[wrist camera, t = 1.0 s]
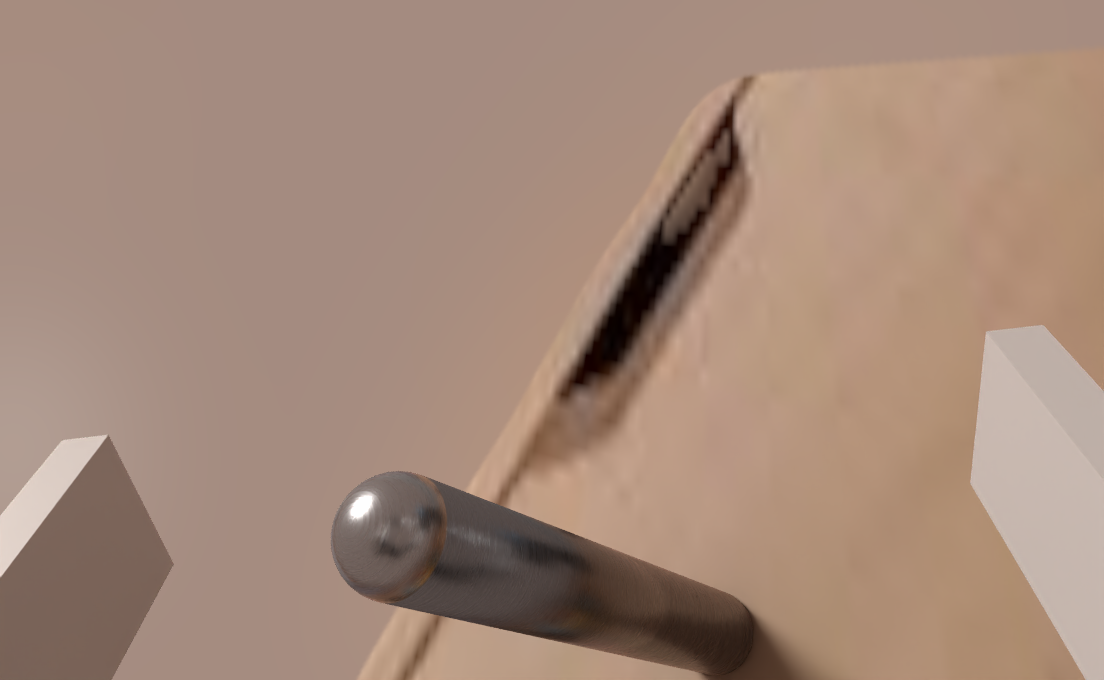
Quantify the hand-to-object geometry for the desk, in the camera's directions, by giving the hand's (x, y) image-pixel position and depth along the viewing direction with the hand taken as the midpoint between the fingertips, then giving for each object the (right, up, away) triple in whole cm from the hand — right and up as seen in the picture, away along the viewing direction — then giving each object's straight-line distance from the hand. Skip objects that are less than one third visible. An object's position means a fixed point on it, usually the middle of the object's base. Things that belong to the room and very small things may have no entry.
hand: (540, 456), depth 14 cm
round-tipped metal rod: (+6, -9, +20) cm, 22 cm away
